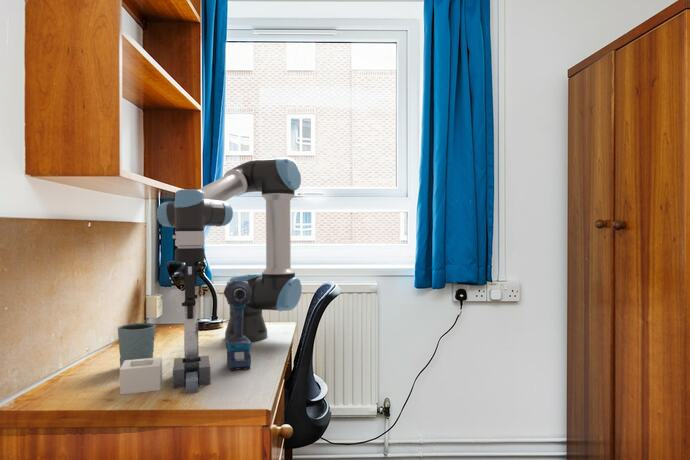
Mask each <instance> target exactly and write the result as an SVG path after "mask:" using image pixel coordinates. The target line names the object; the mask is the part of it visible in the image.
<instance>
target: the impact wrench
mask: <svg viewBox="0 0 690 460" xmlns="http://www.w3.org/2000/svg"><path fill="white" fill-rule="evenodd" d="M251 293H252V290H251V288H250V286H249V284H248V282H247V281H241V280H233V281H230V280H229V281H227V282H226V286H225V287H224V290H223V295H224V297H225V298H226V302H227V305H229V306H230V305H232V309H233V330H234V335H233V336H231V337H230V338H229V339H228V340H226V342H225V349H226V364H227V365H226V366H227V370H229V371H233V370H249V369H251V367H252V366H251V365H252V364H251V363H252V356H251V349H252V341H250V340H249V339H248V338H247V337H246V336H245V335H243V317H244V316H243V310H244V308H246V304H248V302H249V299H250V297H251Z"/></svg>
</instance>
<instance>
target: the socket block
mask: <svg viewBox="0 0 690 460" xmlns="http://www.w3.org/2000/svg"><path fill="white" fill-rule="evenodd" d="M188 372H198V386H206V385H208V386H209V385H211V379H212V378H211V362H210V355H199V361H197V362H186V363H185V357H178V358H177V357H175V358H174V360H173V366H172V387H173V389H180V388H186V373H188Z"/></svg>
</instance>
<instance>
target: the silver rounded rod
mask: <svg viewBox="0 0 690 460" xmlns="http://www.w3.org/2000/svg"><path fill="white" fill-rule="evenodd" d="M183 333H184V334H183V339H184V341H183V344H184V346H183V347H184V348H183V349H184V358H185V363H186V362H197V361H199V356H200V355H199V353H200V351H199V350H200V349H199V320H198V319H196V331H191V332H185V320H183Z"/></svg>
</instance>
